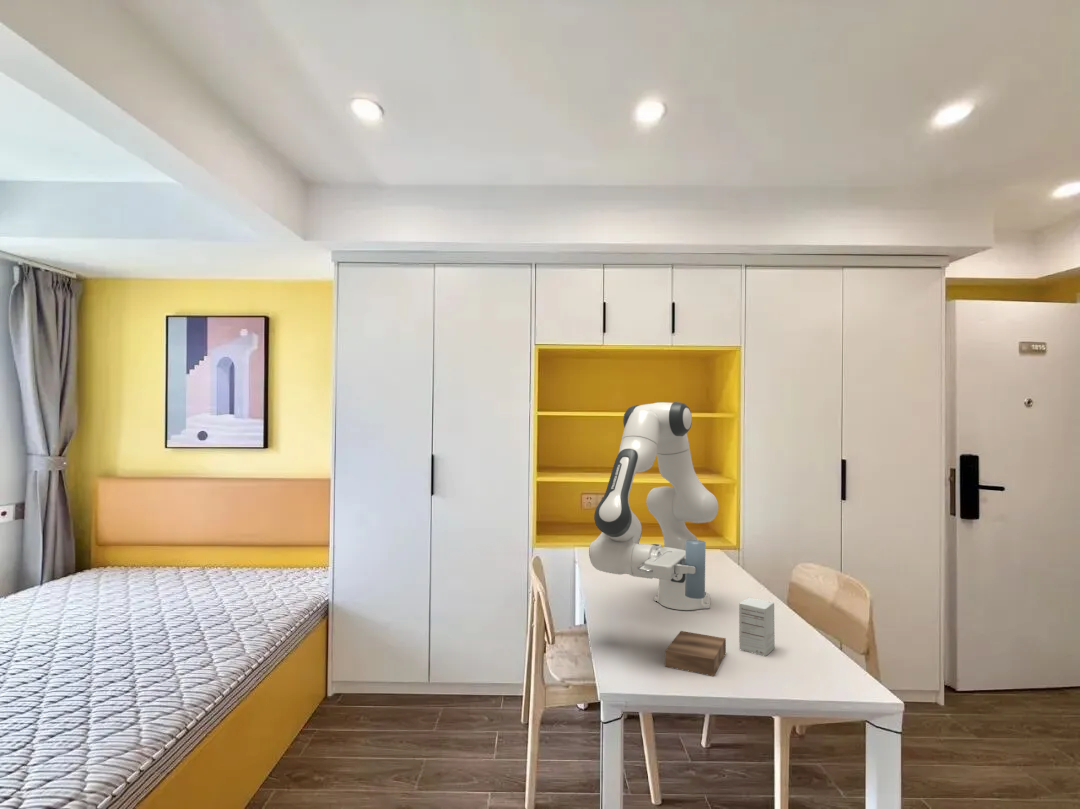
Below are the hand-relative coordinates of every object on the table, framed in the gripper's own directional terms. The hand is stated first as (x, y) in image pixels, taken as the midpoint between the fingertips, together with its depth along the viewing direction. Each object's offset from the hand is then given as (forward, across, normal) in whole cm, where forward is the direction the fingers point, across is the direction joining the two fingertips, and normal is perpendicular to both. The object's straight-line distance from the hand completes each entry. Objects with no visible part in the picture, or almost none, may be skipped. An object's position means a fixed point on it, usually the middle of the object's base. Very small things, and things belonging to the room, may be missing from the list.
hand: (698, 567), depth 157 cm
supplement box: (+12, +15, +24) cm, 31 cm away
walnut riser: (-1, 0, +24) cm, 24 cm away
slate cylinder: (-1, 0, +8) cm, 8 cm away
